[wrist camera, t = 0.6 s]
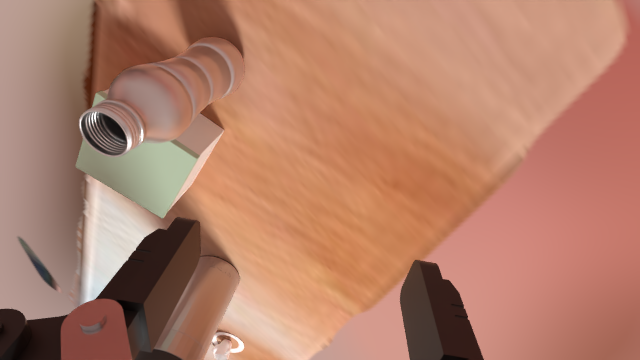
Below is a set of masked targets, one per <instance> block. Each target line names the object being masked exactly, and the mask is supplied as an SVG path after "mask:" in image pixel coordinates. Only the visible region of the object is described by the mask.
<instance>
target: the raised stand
mask: <svg viewBox="0 0 640 360" xmlns="http://www.w3.org/2000/svg"><path fill="white" fill-rule="evenodd" d="M108 91H109V89H107V90H105V91H99V92H97V93H96V95H95V98H94V102H93V105H92V107H94V106H95V105H96V104H98V103H99V102H101V101H103V100H105V99H107V95H108ZM223 132H224V129H222V128H221V127H219V126H218V125H216V124H215V123H214V122H212V121H211V120H209V119H208V118H206V117H205V116H203V115H202V114H201V113H199V114H198V115H197V117H196V118H195V119H194V120H193V122H192V123H191V124H190V126H189V127H188V128H187V129H186V130H185V131H184V132H183V133H182V134H181V135H180V136H179V137H178V138H176V139H174V140H171V141H168V142H164V143H159V144H152V143H142V144H141V145H140V146H138V147H137V148H135V149H132V150H130V151H129V152H128V153H126V154H125V155H122V156H120V157H108V156H104V155H102V154H100V153H98V152H97V151H95V150H94V149H93V148H91V147H90V146H89V145H88V144H87V142H86V141H85V140H84V138H83V141H82V145H81V148H80V152H79V156H78V159H77V163H76V167H77V168H78V169H80V170H82V171H83V172H85V173H87V174H88V175H90V176H92V177H93V178H95V179H97V180H98V181H100V182H102V183H103V184H105V185H107V186H108V187H110V188H112V189H113V190H115V191H117V192H118V193H120V194H122V195H123V196H125V197H127V198H129V199H130V200H132V201H134V202H135V203H137V204H139V205H140V206H142V207H144V208H145V209H147V210H149V211H150V212H152V213H154V214H155V215H157V216H159V217H160V218H162V219H163V218H164V217H165V216H166V214H167V212H168V211H169V210H170V209H171V207H172V206H173V205H174V204H175V203H176V202H177V201H178V200H179V198H180V197H181V196H182V195H183V194H184V193H185V192H186V191H187V189H188V188H189V187H190V186H191V185H192V183H193V182H194V180H195V178H196V177H197V175H198V173H199V172H200V170H201V168H202V167H203V165H204V163H205V162H206V160H207V158H208V157H209V155H210V153H211V152H212V150H213V148H214V147H215V145H216V143H217V142H218V140H219V138H220V137H221V135H222V133H223Z"/></svg>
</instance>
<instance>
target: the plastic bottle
mask: <svg viewBox="0 0 640 360" xmlns="http://www.w3.org/2000/svg"><path fill="white" fill-rule="evenodd" d="M244 73H245V65H244V61H243V58H242V55H241V54H240V52H239V50H238V49H237V48H236V47H235V46H234V45H233V44H232V43H230V42H229V41H227V40H225V39H223V38H219V37H206V38H202V39H199V40H197V41H196V42H195V43H193V44H192V45H191V46H189V47H188V48H187V49H186V51H184V52H182V53H181V54H179V55H178V56H176V57H173V58H170V59H167V60H164V61H161V62H154V63H148V64H141V65H136V66H132V67H129V68H127V69H125V70H123V71H122V72H121V73H120V74H119V75H118V76H117V77H116V78H115V79H114V80H113V82H112V83H111V85H110V88H109V91H108V95H107V99H105V100H103V101H101V102H99V103H98V104H96V105H95V106H94V107H92V108H90V109H88V110H86V111H85V112H84V113H83V114H82V115H81V116H80V118H79V130H80V132H81V135H82V137H83V138H84V140H85V141H86V142H87V144H88V145H89V146H90V147H91V148H93V149H94V150H95V151H97V152H98V153H100V154H102V155H104V156H108V157H120V156H122V155H125V154H126V153H128V152H129V151H130V150H132V149H135V148H137V147H138V146H140V145H141V144H142V143H152V144H159V143H164V142H168V141H171V140H174V139H176V138H178V137H179V136H180V135H181V134H182V133H183V132H184V131H185V130H186V129H187V128H188V127H189V126H190V124H191V123H192V122H193V120H194V119H195V118H196V117H197V115H198V114H199V113H200V112H201V111H202V110H203V109H204V108H205V107H206V106H207V105H208V104H210V103H212V102H214V101H216V100H217V99H221V98H224V97H226V96H228V95H230V94H232V93H233V92H235V91H236V90H237V89H238V87H239V85H240V84H241V82H242V80H243V77H244Z"/></svg>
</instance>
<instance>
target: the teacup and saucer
mask: <svg viewBox="0 0 640 360" xmlns="http://www.w3.org/2000/svg"><path fill="white" fill-rule="evenodd" d="M219 335H227V336H230V337H232V338H234V339H236V340H237V341H238V343H239V347H238V348H236V349H231V347H232V342H231V341H230V340H227V339H224V340H223V341H222V342H221V343H220V344H219V343H218V342H217V341H216V338H217V336H219ZM212 342H213V344H214V345H215V346H214V347H213V353H214V357H215V359H217V360H228V357H229V354H230V352H240V351H242V350H243V349H244V344H243V342H242V341H241V340H240V339H239V338H238V337H236V336H234V335H232V334H229V333H225V332H217V333H215V335H214V338H213V340H212Z"/></svg>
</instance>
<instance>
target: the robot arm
mask: <svg viewBox="0 0 640 360" xmlns="http://www.w3.org/2000/svg"><path fill="white" fill-rule="evenodd" d="M200 252H201V247H200V222H199V221H197V220H191V219H186V218H180V217H177V218H176V219H175V220H174V221H173V222H172V224H171V225H170V227H169V228H168V229H167V230H164V229H157V230H156V231H154V232H153V233H151V234H149V235H148V236H146V237H145V238H144V239H143V240H142V242H141V243H140V244H139V246H138V247H137V248H136V251H134V252H133V253H132V254H131V256H130V257H129V259H128V261H126V262H125V263H124V264H123V266H122V267H121V268H120V269H119V271H118V272H117V273H116V274H115V276H114V277H113V278H112V279H111V281H110V282H109V283H108V284H107V286H106V287H105V288H104V289H103V291H102V292H101V293H100V294H99V296H98V297H97V298H96V299H95V300H92V301H89V302H86V303H84V304H82V305H80V306H79V307H77V308H76V309H74V310H73V311H72V312H71V313H70V314H68V315H65V316H60V317H52V318H43V319H35V320H26V318H25V316H24V315H23V313H21V312H20V311H17V310H14V309H0V360H203V359H204V357H205V355H206V353H207V350H208V348H209V346H210V344H211V342H212V340H213V338H214V335H215V333H216V331H217V329H218V327H219V325H220V322H221V320H222V318H223V316H224V314H225V312H226V309H227V307H228V305H229V303H230V301H231V299H232V297H233V294H234V292H235V290H236V288H237V286H238V283H239V279H240V278H239V274H238V272H237V271H236V269H235V268H234V267H233V266H232V265H231V264H229V263H228V262H226V261H224V260H222V259H220V258H217V257H212V256H203V257H200ZM400 304H401V310H402V316H403V322H404V327H405V333H406V339H407V345H408V351H409V357H410V360H484V359H483V356H482V355H481V351H480V348H479V346H478V343H477V340H476V338H475V335H474V332H473V329H472V327H471V324H470V321H469V320H468V316H467V313H466V310H465V309H464V305H463V302H462V300H461V297H460V294H459V292H458V291H457V290H456V288H455V287H454V286H453V285H452V283H451V282H450V281H449V280H445V279H442V276H441V273H440V270H439V267H438V265H437V264H436V263H431V262H425V261H420V260H415V261H414V262H413V264H412V266H411V269H410V271H409V273H408V275H407V277H406V279H405V282H404V284H403V286H402V289H401V295H400Z"/></svg>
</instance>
